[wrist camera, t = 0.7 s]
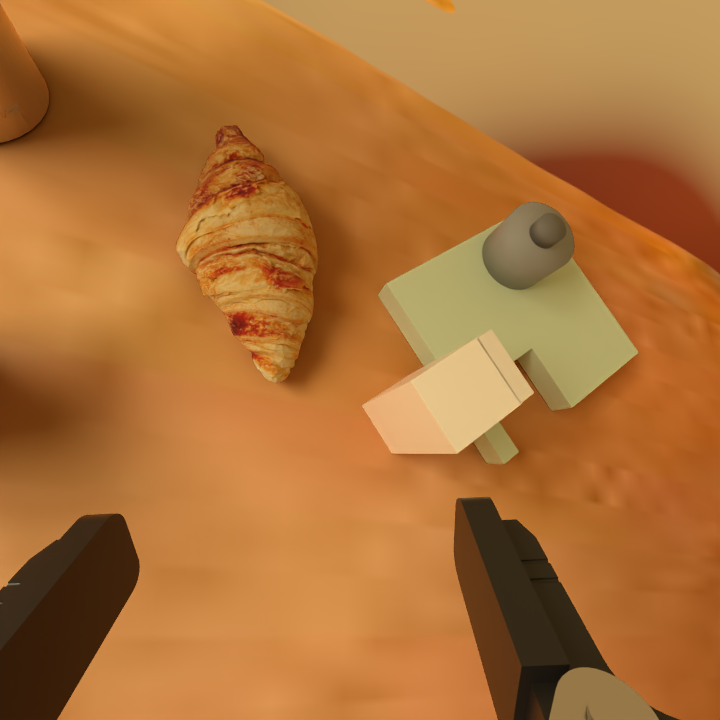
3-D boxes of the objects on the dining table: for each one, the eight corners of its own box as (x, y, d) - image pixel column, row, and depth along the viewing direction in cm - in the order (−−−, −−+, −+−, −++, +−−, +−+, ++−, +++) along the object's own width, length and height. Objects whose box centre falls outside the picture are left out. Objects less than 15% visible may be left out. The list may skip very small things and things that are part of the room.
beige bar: (361, 405, 31) (410, 381, 20) (419, 367, 33) (490, 328, 22) (391, 453, 30) (457, 453, 20) (448, 412, 32) (534, 393, 22)
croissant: (309, 385, 34) (370, 360, 28) (193, 402, 27) (243, 373, 21) (260, 172, 37) (306, 112, 31) (145, 139, 30) (177, 53, 24)
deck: (377, 295, 33) (408, 251, 26) (518, 218, 39) (575, 165, 32) (486, 463, 32) (551, 466, 25) (615, 358, 38) (698, 336, 30)
